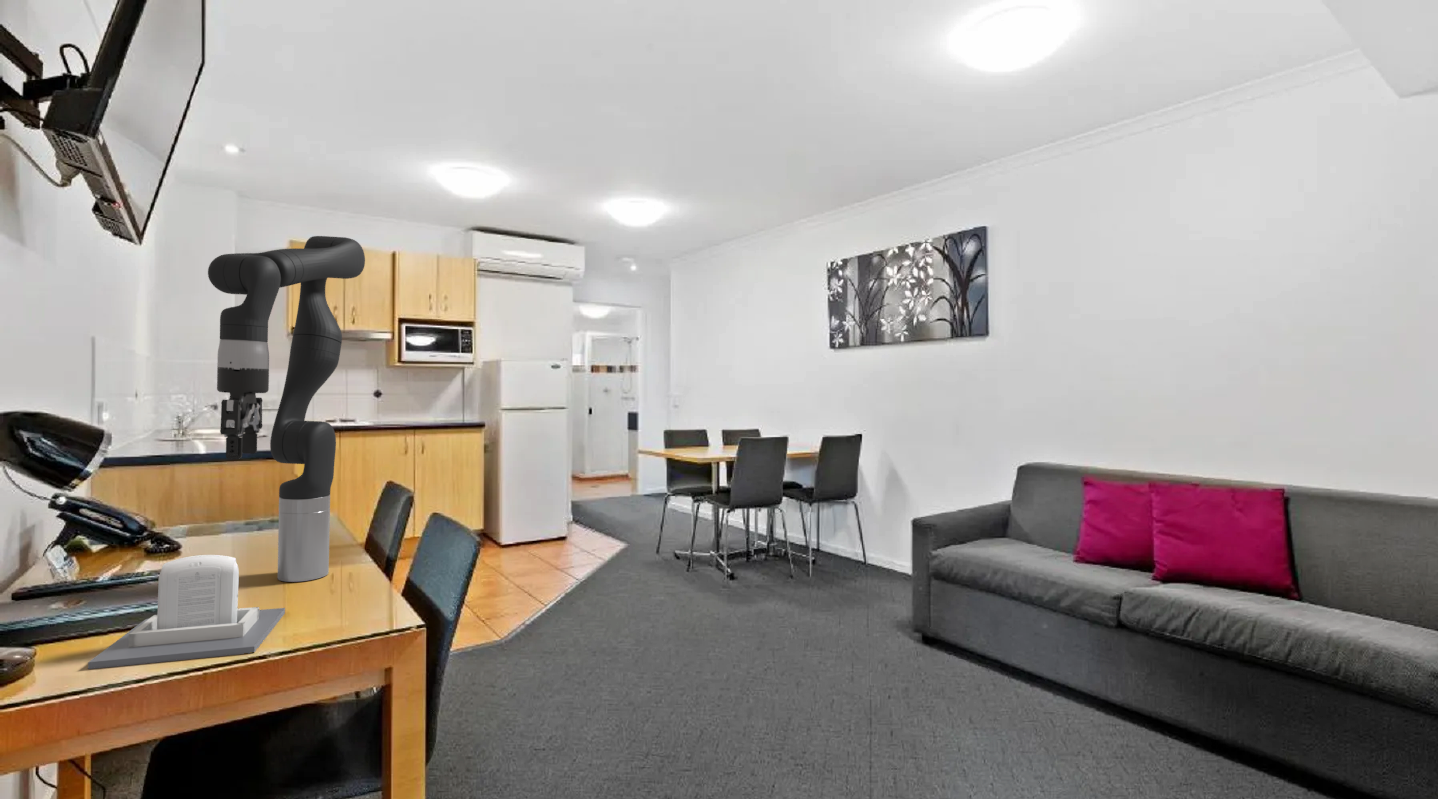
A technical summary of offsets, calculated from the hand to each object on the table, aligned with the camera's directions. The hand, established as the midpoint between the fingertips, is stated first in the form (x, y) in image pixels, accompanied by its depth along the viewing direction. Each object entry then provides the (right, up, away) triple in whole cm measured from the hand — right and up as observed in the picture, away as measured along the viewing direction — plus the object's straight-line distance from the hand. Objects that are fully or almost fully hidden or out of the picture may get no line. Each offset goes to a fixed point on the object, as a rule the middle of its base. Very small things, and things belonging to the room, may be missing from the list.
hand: (241, 455), depth 117 cm
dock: (+2, -28, -12) cm, 31 cm away
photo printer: (+2, -28, -12) cm, 30 cm away
